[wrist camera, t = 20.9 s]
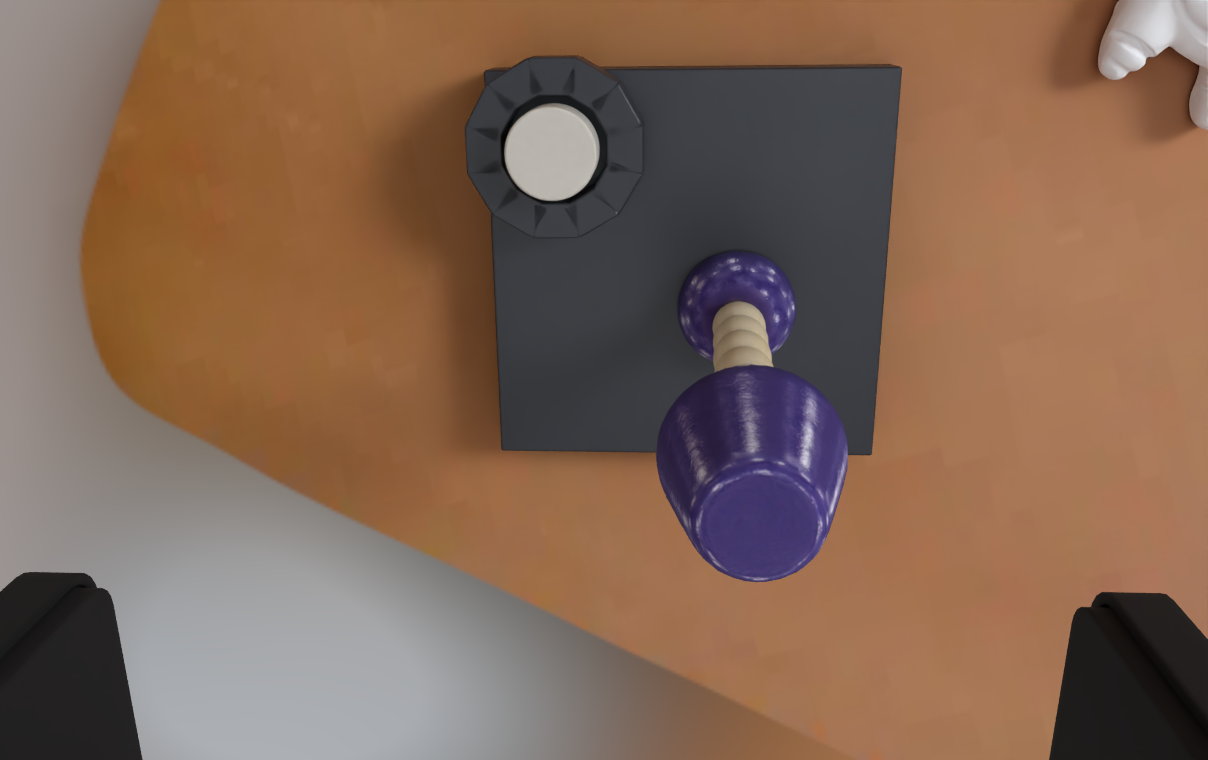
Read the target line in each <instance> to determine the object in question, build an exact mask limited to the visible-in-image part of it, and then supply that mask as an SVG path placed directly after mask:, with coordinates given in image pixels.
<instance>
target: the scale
mask: <svg viewBox="0 0 1208 760" xmlns="http://www.w3.org/2000/svg"><path fill="white" fill-rule="evenodd" d="M901 74H902V68H901V67H899V66H895V65H890V64H866V65H752V66H638V67H598V66H597V65H595V64H593V63H592V62H590V61H588V60H587V59H585V58H583V57H580V56H533V57H530V58H527V59H524V60H523V61H521V62H520V63H518V64H516V65H515V66H513V67H512V68H492V69H489V70H486V71H485V72H484V80H485V87H484V89H483V91H482V93H481V95H480V97H479V99H478V101H477V103H476V105H475V107H474V109H473V111H472V113H471V115H470V117H469V119H468V121H467V123H466V127H465V139H466V158H467V173H468V176H469V178H470V179H471V181H472V183H473V184H474V186H475V188H476V189H477V191H478V192H479V194H480V196H481V197H482V199H483V200H484V202H485V204H486V205H487V207H488V209H489V210H490V212H491V231H492V253H493V274H494V296H495V317H496V339H497V361H498V382H499V404H500V425H501V447H502V450H513V451H588V452H656V450H657V441H658V435H659V431H660V427H661V424H662V422H663V420H664V418H665V417H666V414H667V412H668V410H669V409H670V407H671V406H672V405H673V403H674V402H675V401H676V399H677V398H678V397H679V396H680V395H681V394H682V393H683V392H684V391H685V390H686V389H687V388H689V387H690V386H691V385H693V384H694V383H695V382H697V381H698V380H700V379H701V378H703V377H705V376H707V375H709V374H711V373H714V371H715V368H714V364H713V362H711V361H709V360H708V359H706V358H704V357H703V356H701V355H700V354H698V353H697V352H696V351H695V350H694V349H693V348H692V347H691V346H690V344H689V343H688V342H687V340H686V339H685V337H684V335H683V333H682V331H681V327H680V324H679V320H678V313H677V305H678V298H679V294H680V291H681V288H682V286H683V284H684V282H685V280H686V279H687V277H688V276H689V275H690V273H691V272H692V270H694V269H695V268H696V267H697V266H698V265H700V264H701V263H702V262H703V261H704V260H706V259H709V258H710V257H712V256H715V255H718V254H722V253H726V252H735V251H738V252H749V253H754V254H758V255H760V256H763V257H766V258H767V259H769V260H770V261H772V262H773V263H775V264H776V265H778V266H779V268H780V269H781V270H782V271H783V272H784V273H785V275H786V276H787V278H788V280H789V282H790V284H791V286H792V287H793V290H794V294H795V299H796V318H795V322H794V325H793V328H792V330H791V332H790V334H789V336H788V338H787V340H786V341H785V342H784V344H783V345H782V346H781V347H780V348H779V349H778V350H777V351H776V352H775V353H774V354H772V364H773V367H776V368H780V369H783V370H787V371H789V372H791V373H794V374H796V375H798V376H800V377H801V378H803V379H804V380H806V381H808V382H810V383H811V384H813V385H814V386H815V387H816V388H817V389H818V390H819V391H820V392H821V393H822V394H823V395H824V396H825V397H826V398H827V399H828V400H829V402H830V403H831V405H832V406H833V407H834V408H835V410H836V412H837V413H838V415H839V417H840V419H841V421H842V423H843V426H844V430H845V434H846V437H847V446H848V455H871V454H872V445H873V432H874V419H875V406H876V393H877V381H878V368H879V355H880V342H881V330H882V317H883V304H884V291H885V278H886V266H887V253H888V240H889V227H890V214H891V202H892V189H893V176H894V163H895V151H896V138H897V125H898V112H899V99H900V87H901ZM549 103H560V104H565V105H568V106H571V107H573V108H575V109H577V110H578V111H580V112H581V113H583V114H584V115H585V116H586V117H587V118H588V119H589V121H590V122H591V123H592V125H593V126H594V128H595V130H596V133H597V136H598V139H599V146H600V155H599V160H598V164H597V167H596V169H595V171H594V173H593V175H592V177H591V179H590V180H589V182H588V183H587V185H586V186H585V187H584V188H583V189H582V190H581V191H580V192H578V193H577V194H575V195H573V196H571V197H569V198H567V199H564V200H559V201H545V200H540V199H537V198H534V197H532V196H530V195H528V194H527V193H525V192H524V191H522V190H521V189H520V188H519V187H518V186H517V185H516V184H515V182H514V181H513V180H512V178H511V176H510V174H509V172H508V170H507V167H506V163H505V156H504V148H505V142H506V139H507V136H508V133H509V131H510V129H511V128H512V126H513V125H514V123H515V122H516V121H517V120H518V119H519V118H520V117H521V116H523V115H524V114H525V113H527V112H528V111H530V110H531V109H533V108H535V107H537V106H540V105H543V104H549Z"/></svg>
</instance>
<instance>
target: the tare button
mask: <svg viewBox="0 0 1208 760" xmlns="http://www.w3.org/2000/svg"><path fill="white" fill-rule="evenodd" d="M599 155H600V146H599V139H598V136H597V133H596V130H595V128H594V126H593V125H592V123H591V122H590V121H589V119H588V118H587V117H586V116H585V115H584V114H583V113H581V112H580V111H578V110H577V109H575V108H573V107H571V106H568V105H565V104H560V103H549V104H543V105H540V106H537V107H535V108H533V109H531V110H530V111H528V112H527V113H525V114H524V115H523V116H521V117H520V118H519V119H518V120H517V121H516V122H515V123H514V125H513V126H512V128H511V129H510V131H509V133H508V136H507V139H506V142H505V148H504V156H505V163H506V167H507V170H508V172H509V174H510V176H511V178H512V180H513V181H514V182H515V184H516V185H517V186H518V187H519V188H520V189H521V190H522V191H524V192H525V193H527V194H528V195H530V196H532V197H534V198H537V199H540V200H545V201H559V200H564V199H567V198H569V197H571V196H573V195H575V194H577V193H578V192H580V191H581V190H582V189H583V188H584V187H585V186H586V185H587V183H588V182H589V180H590V179H591V177H592V175H593V173H594V171H595V169H596V167H597V164H598V160H599Z"/></svg>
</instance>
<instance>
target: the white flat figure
mask: <svg viewBox="0 0 1208 760" xmlns="http://www.w3.org/2000/svg"><path fill="white" fill-rule="evenodd" d="M1167 47H1171V48H1173V49H1174V50H1175V51H1177V52H1178V53H1179V54H1181V55H1183V56H1184V57H1186V58H1187V59H1189V60H1191V61H1192V62H1194V63H1196V64H1198V65H1199V73H1198V76H1197V80H1196V82H1195V85H1194V87H1193V89H1192V92H1191V95H1190V100H1189V110H1190V116H1191V119H1192V120H1193V122H1194V123H1195V124H1196V125H1197V126H1198V127H1200V128H1202V129H1205V130H1208V0H1119V1H1118V2H1117V4H1116V5H1115V8H1114V12H1113V15H1112V17H1111V19H1110V22H1109V24H1108V26H1107V28H1106V31H1105V33H1104V35H1103V38H1102V41H1101V44H1100V50H1099V55H1098V67H1099V70H1100V72H1101V74H1103V75H1104V76H1105V77H1107V78H1109V79H1112V80H1118V79H1121V78H1123V77H1125V76H1126V75H1127V74H1128V72H1130V71H1137V70H1139V69H1140V68H1142V67H1143V66H1144V65H1145V63H1146V58H1148V57H1155V56H1157V55H1158V54H1159V53H1161V52H1162V51H1163V50H1164V49H1165V48H1167Z"/></svg>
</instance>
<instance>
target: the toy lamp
mask: <svg viewBox="0 0 1208 760" xmlns="http://www.w3.org/2000/svg"><path fill="white" fill-rule="evenodd" d="M677 313H678V320H679V324H680V327H681V331H682V333H683V335H684V337H685V339H686V340H687V342H688V343H689V344H690V346H691V347H692V348H693V349H694V350H695V351H696V352H697V353H698V354H700V355H701V356H703V357H704V358H706V359H708V360H709V361H711V362H713V364H714V368H715V371H714V373H711V374H709V375H707V376H705V377H703V378H701V379H700V380H698V381H697V382H695V383H694V384H693V385H691V386H690V387H689V388H687V389H686V390H685V391H684V392H683V393H682V394H681V395H680V396H679V397H678V398H677V399H676V401H675V402H674V403H673V405H672V406H671V407H670V409H669V410H668V412H667V414H666V417H665V418H664V420H663V422H662V424H661V427H660V431H659V435H658V441H657V450H656V459H657V468H658V474H659V478H660V482H661V484H662V487H663V490H664V492H665V494H666V497H667V499H668V501H669V503H670V504H671V506H672V508H673V510H674V512H675V514H676V516H677V518H678V520H679V522H680V523H681V525H682V527H683V528H684V530H685V532H686V534H687V536H688V537H689V539H690V541H691V542H692V544H693V546H694V547H695V549H696V550H697V551H698V553H699V554H700V555H701V556H702V557H703V558H704V559H705V560H706V561H707V562H708V563H709V564H710V565H712V566H713V567H714V568H715V569H717V570H718V571H720V572H722V573H724V574H726V575H728V576H731V577H733V578H736V579H740V580H743V581H751V582H767V581H772V580H777V579H781V578H784V577H786V576H789V575H791V574H793V573H796V572H797V571H799V570H800V569H802V568H803V567H804V566H806V565H807V564H808V563H809V562H810V561H811V560H812V559H813V558H814V557H815V556H816V555H817V553H818V552H819V550H820V548H821V546H822V545H823V543H824V541H825V539H826V537H827V534H828V532H829V529H830V526H831V523H832V521H833V518H834V514H835V511H836V508H837V504H838V501H839V498H840V495H841V491H842V488H843V485H844V480H845V476H846V471H847V462H848V446H847V437H846V434H845V430H844V426H843V423H842V421H841V419H840V417H839V415H838V413H837V412H836V410H835V408H834V407H833V406H832V405H831V403H830V402H829V400H828V399H827V398H826V397H825V396H824V395H823V394H822V393H821V392H820V391H819V390H818V389H817V388H816V387H815V386H814V385H813V384H811V383H810V382H808V381H806V380H804V379H803V378H801V377H800V376H798V375H796V374H794V373H791V372H789V371H787V370H783V369H780V368H776V367H773V364H772V354H774V353H775V352H776V351H777V350H778V349H779V348H780V347H781V346H782V345H783V344H784V342H785V341H786V340H787V338H788V336H789V334H790V332H791V330H792V328H793V325H794V322H795V318H796V299H795V294H794V290H793V287H792V286H791V284H790V282H789V280H788V278H787V276H786V275H785V273H784V272H783V271H782V270H781V269H780V268H779V266H778V265H776V264H775V263H773V262H772V261H770V260H769V259H767V258H766V257H763V256H760V255H758V254H754V253H749V252H738V251H735V252H726V253H722V254H718V255H715V256H712V257H710V258H709V259H706V260H704V261H703V262H702V263H701V264H700V265H698V266H697V267H696V268H695V269H694V270H692V272H691V273H690V275H689V276H688V277H687V279H686V280H685V282H684V284H683V286H682V288H681V291H680V294H679V298H678V305H677Z"/></svg>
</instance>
